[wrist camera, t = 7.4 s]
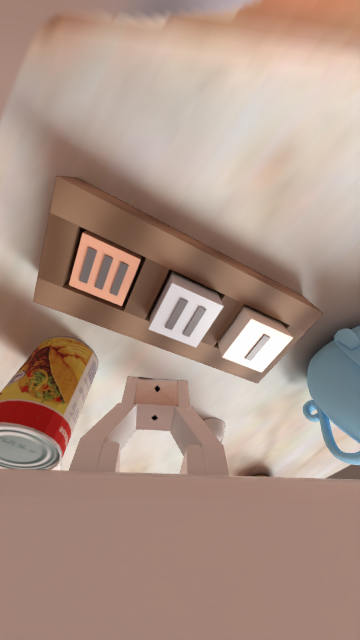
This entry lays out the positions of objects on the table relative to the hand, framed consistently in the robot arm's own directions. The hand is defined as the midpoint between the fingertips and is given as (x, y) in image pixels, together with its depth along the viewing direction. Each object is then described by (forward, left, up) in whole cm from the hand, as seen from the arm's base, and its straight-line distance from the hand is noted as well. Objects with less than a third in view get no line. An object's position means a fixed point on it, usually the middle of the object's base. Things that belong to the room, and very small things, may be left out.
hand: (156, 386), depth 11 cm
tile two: (+2, -2, -12) cm, 12 cm away
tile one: (+8, -7, -12) cm, 16 cm away
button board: (+2, -2, -15) cm, 15 cm away
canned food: (-15, -8, -15) cm, 23 cm away
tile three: (-5, +3, -14) cm, 15 cm away
